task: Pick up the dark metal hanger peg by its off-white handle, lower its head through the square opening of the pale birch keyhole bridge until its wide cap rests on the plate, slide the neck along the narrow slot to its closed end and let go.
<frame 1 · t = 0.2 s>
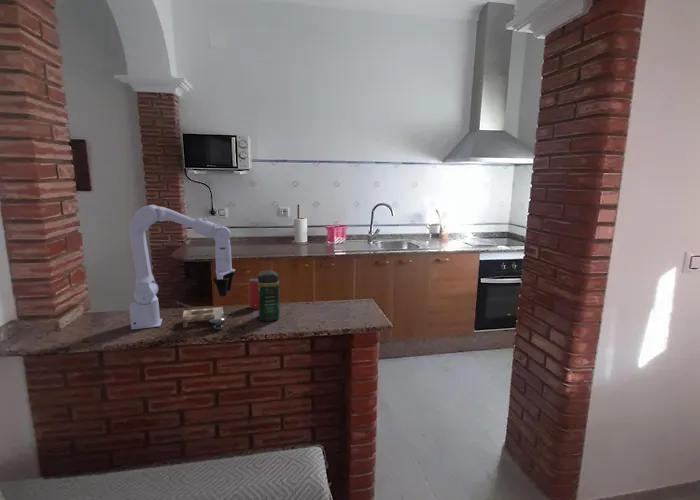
hand: (225, 293, 149), 10 cm above the counter, fingers open, 7 cm apart
hanger peg: (218, 328, 141), on the counter
keyhole bridge: (204, 322, 147), on the counter
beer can: (257, 307, 165), on the counter
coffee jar: (269, 318, 152), on the counter
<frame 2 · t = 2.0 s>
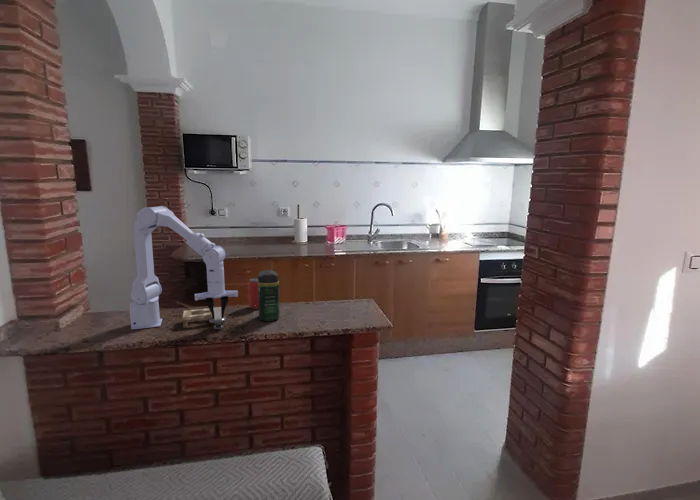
hand: (217, 317, 140), 4 cm above the counter, fingers closed on hanger peg, 2 cm apart
hanger peg: (218, 328, 141), on the counter, touching gripper
everything else where it was.
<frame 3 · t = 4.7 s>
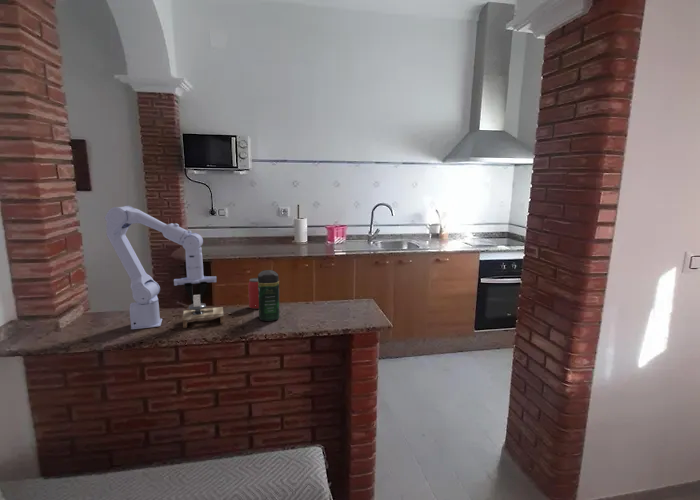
hand: (197, 302, 145), 8 cm above the counter, fingers closed on hanger peg, 2 cm apart
hanger peg: (198, 314, 146), point 3 cm above the counter, touching gripper
everything else where it was.
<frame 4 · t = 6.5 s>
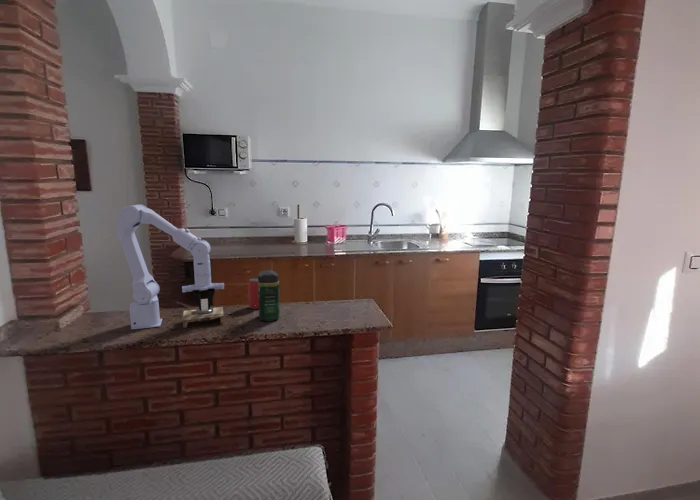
hand: (204, 308, 146), 5 cm above the counter, fingers closed on hanger peg, 2 cm apart
hanger peg: (205, 318, 147), point 1 cm above the counter, touching gripper
everything else where it was.
when the fingers open (5 cm above the counter, at t = 7.7 s): hanger peg stays where it is, resting on keyhole bridge.
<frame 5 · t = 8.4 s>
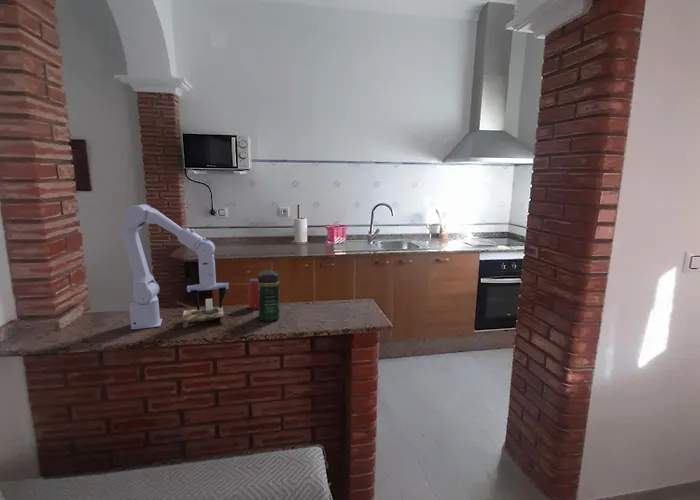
hand: (209, 308, 147), 5 cm above the counter, fingers open, 7 cm apart
hanger peg: (210, 318, 147), point 1 cm above the counter, touching keyhole bridge
everything else where it was.
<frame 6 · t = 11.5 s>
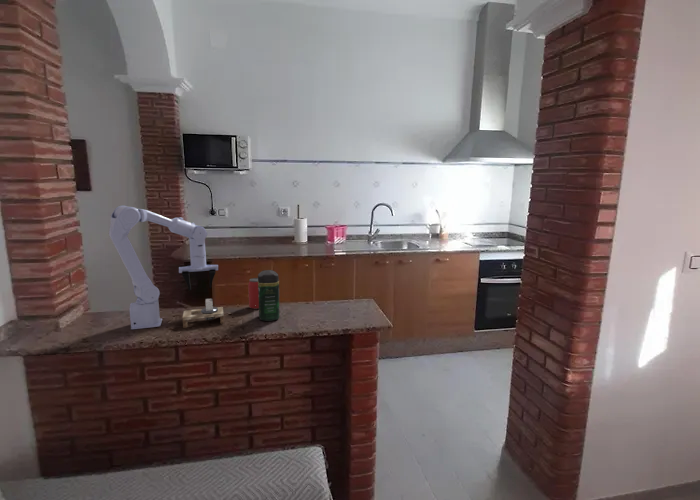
hand: (200, 288, 156), 10 cm above the counter, fingers open, 7 cm apart
nothing on the counter moved.
at the end: hanger peg 0.1 cm from the target spot on the keyhole bridge, point 1.2 cm above the keyhole bridge's base; hanger peg tilted 0°; the gripper is holding nothing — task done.
